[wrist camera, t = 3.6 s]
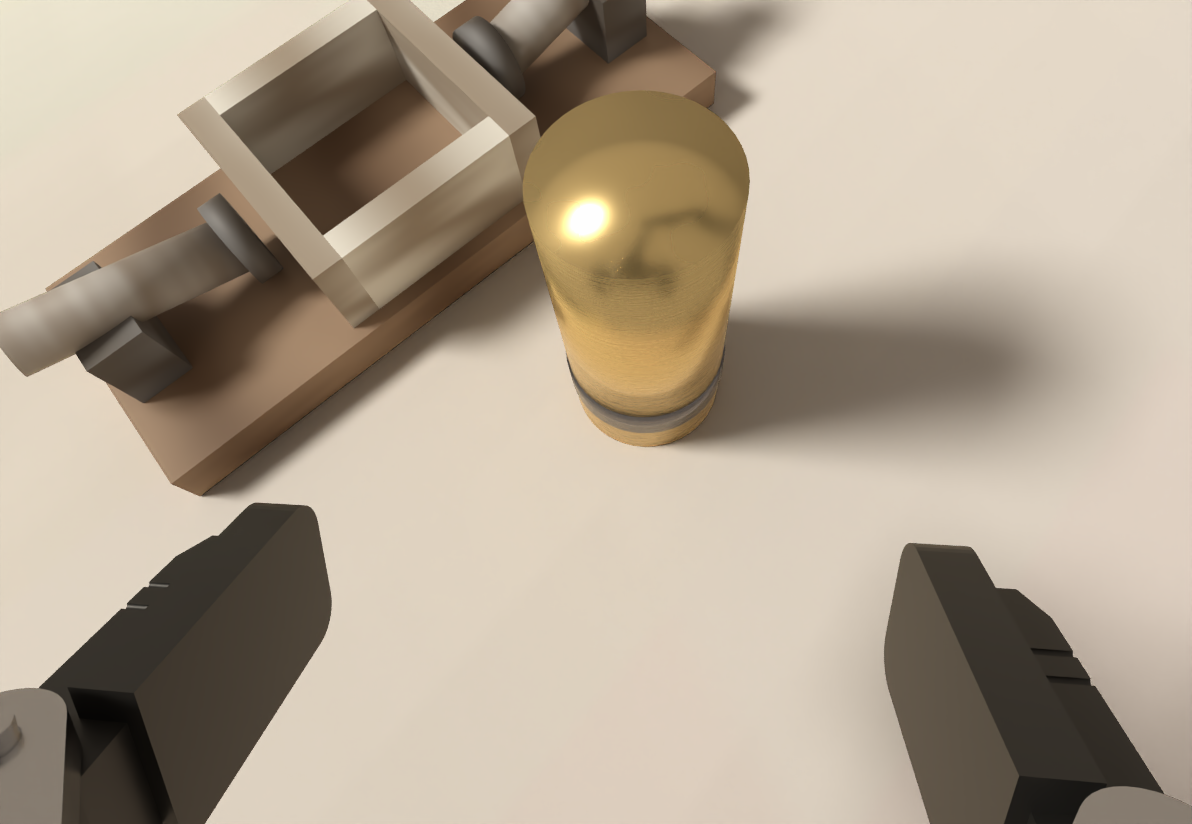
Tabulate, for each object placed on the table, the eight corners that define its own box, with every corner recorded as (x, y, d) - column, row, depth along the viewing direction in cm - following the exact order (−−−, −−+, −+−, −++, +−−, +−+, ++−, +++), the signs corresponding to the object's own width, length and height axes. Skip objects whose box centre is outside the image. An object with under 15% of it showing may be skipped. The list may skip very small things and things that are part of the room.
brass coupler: (652, 291, 25) (644, 52, 16) (749, 384, 24) (802, 182, 15) (547, 376, 25) (474, 177, 15) (640, 477, 23) (623, 327, 14)
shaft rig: (572, -35, 31) (553, -185, 26) (729, 90, 28) (744, -49, 23) (57, 324, 27) (-90, 233, 22) (178, 512, 24) (42, 461, 19)
